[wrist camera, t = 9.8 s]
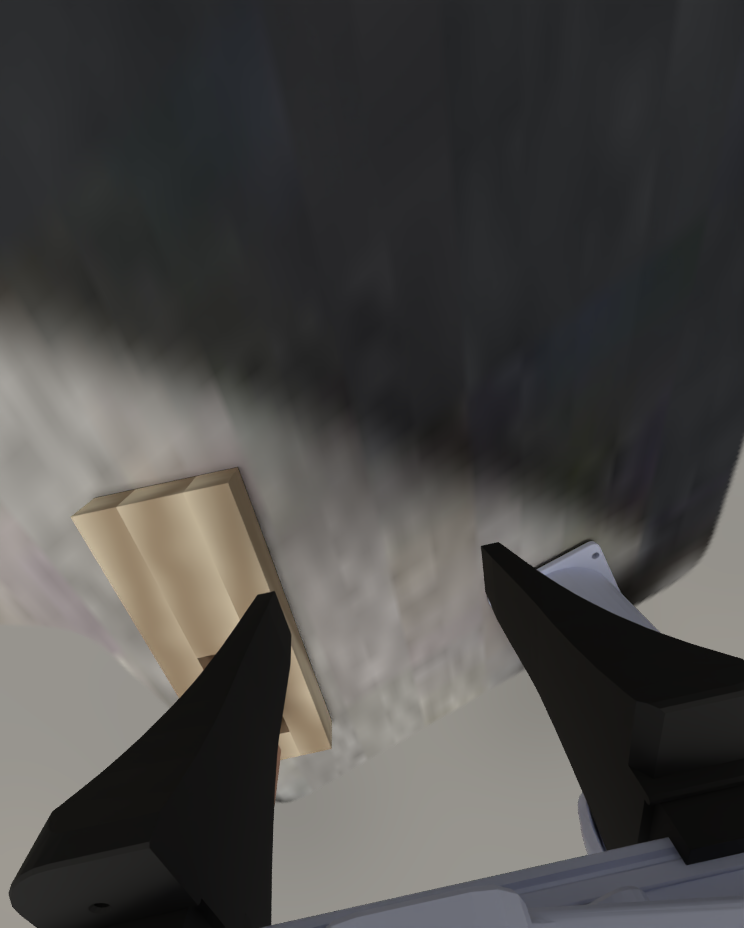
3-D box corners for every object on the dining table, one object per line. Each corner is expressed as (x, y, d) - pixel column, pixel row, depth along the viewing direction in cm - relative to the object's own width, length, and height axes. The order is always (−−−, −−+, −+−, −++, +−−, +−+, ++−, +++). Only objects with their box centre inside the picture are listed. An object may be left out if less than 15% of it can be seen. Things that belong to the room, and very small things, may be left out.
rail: (237, 467, 21) (228, 482, 19) (331, 721, 29) (331, 748, 28) (94, 498, 21) (70, 517, 19) (230, 743, 29) (223, 772, 27)
